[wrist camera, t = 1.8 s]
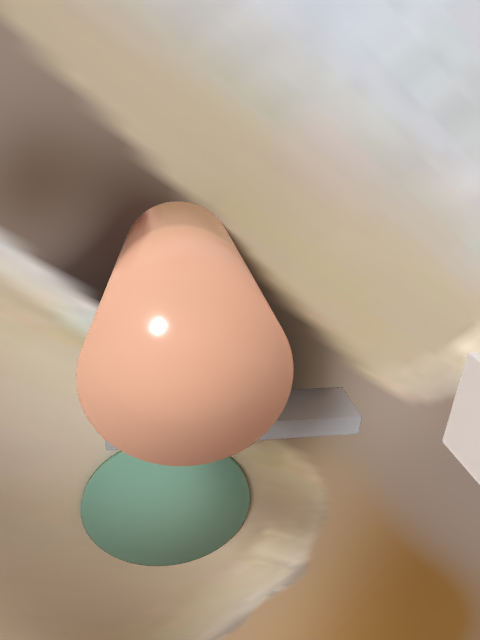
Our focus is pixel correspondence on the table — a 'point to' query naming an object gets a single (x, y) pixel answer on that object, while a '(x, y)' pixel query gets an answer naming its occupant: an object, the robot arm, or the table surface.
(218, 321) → the peach rounded cylinder
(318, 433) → the rail
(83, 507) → the pad
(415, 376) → the table surface
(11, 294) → the table surface
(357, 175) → the table surface
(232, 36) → the table surface
